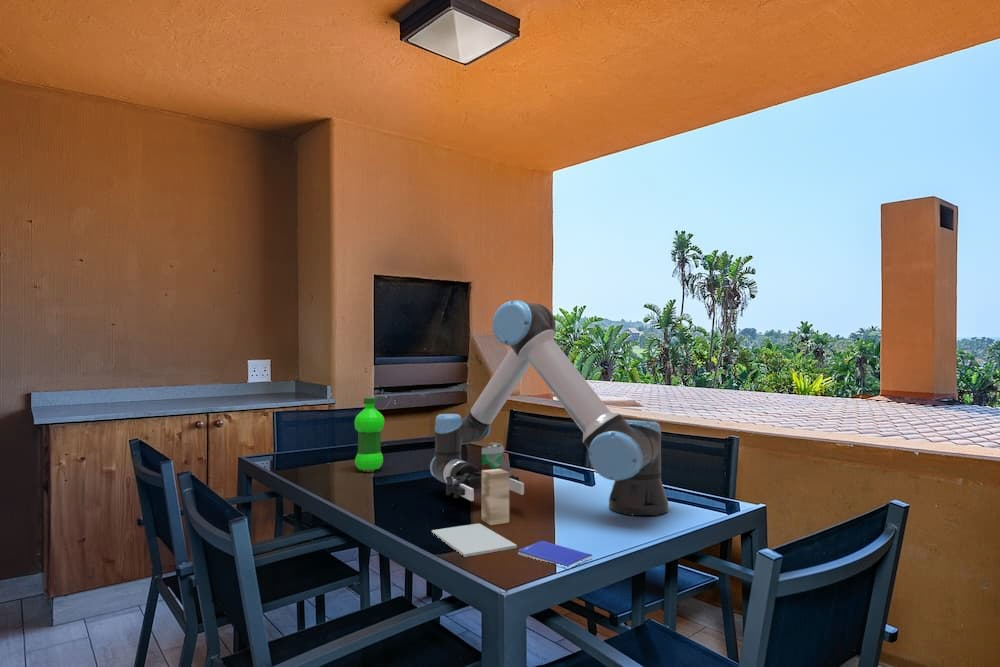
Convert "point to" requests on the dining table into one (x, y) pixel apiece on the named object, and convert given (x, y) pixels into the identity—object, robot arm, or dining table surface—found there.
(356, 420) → the plastic bottle
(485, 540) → the rubber mat
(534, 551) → the hard drive
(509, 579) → the dining table surface
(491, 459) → the food container
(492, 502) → the birch block
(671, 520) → the dining table surface
